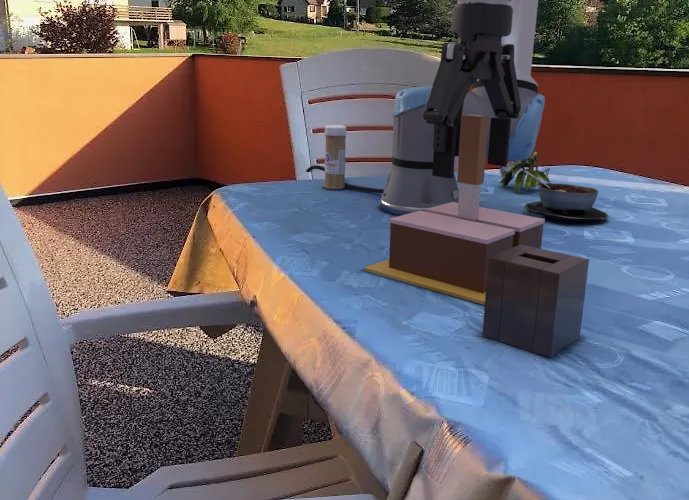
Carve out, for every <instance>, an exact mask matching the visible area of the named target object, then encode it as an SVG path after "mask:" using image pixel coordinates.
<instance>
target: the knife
mask: <svg viewBox="0 0 689 500" xmlns="http://www.w3.org/2000/svg"><path fill="white" fill-rule="evenodd" d="M488 118H489V116H485V115H474V114H466V115H461V129H460V145H459V157H458V161H457V177H456V178H457V179H456V182H457V183H459V187H458V189H459V201H458V216H457V218H459V219H464V220H469V221H474V222H478V217H479V207H480V202H481V187H482V184H484V181H485V171H486V170H485V169H486V158H485V157H486V144H487V131H488Z"/></svg>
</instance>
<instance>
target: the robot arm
mask: <svg viewBox="0 0 689 500" xmlns="http://www.w3.org/2000/svg"><path fill="white" fill-rule="evenodd" d="M455 1H456V2H457V4H456V5H455V4H454V7H452V16H451V29H450V30H451V34H452V35H453V36H457V37H458V41H457V42H444V43H442V47H441V54H440V62H439V63H438V64H439V65H438V68H437V71H436V73H435V76H434V80H433V83H432V85H424V86H416V87H407V88H402V89H401V90H399V91H398V92H397V93H396V94H395V97H394V106H393V107H394V108H393V113H392V118H393V119H392V120H393V121H392V123H393V124H392V149H391V151H392V152H391V169H390V171H389V175H388V178H387V180H386V183H385V185H384V188H376V187H367V186H361V185H355V184H349V183H347V182H344V185H345V188H344V189H349V190H353V191H359V192H367V193H374V194H381V197H380V209H382V210H383V211H384V212H386V213H389V214H392V215H398V216H401V215H405V214H409V213H413V212H416V211H425V212H426V209H428V208H431V207H435V206H439V205H443V204H446V203H450V202H456V203H458V201H459V187H458V182H457V179H456V178H457V177H456V174H455V160H456V159H455V158H456V157H457V158H459V145H460V129H461V115H466V114H474V115H485V116H489V118H488V131H487V144H486V157H485V159H487V162H486V163H487V165H492V166H497V167H504V166H507V164H508V161H510V160H524V159H527V158H528V157H530V155H531V156H532V155H533V153H534V151H535V149H534V147H535V145H536V143H537V139H538V137H539V131H540V128H541V123H542V118H543V113H544V108H545V103H546V97H545V95H543V94H541V93H538V91H539V84H538V83H537V81H536V80H535V79H534V78H533V77H532V74H531V73H532V65H533V55H534V46H535V45H534V44H535V37H536V36H535V35H536V25H537V17H538V16H537V15H538V5H539V0H455ZM470 89H471V91H470ZM535 148H536V147H535ZM533 150H534V151H533ZM532 152H533V153H532ZM313 170H319V171H322V172H325V166H322V165H319V164H318V165H311V166H308V168H306V170H305V172H307V173H310V172H311V171H313Z"/></svg>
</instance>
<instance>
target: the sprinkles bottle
mask: <svg viewBox="0 0 689 500" xmlns="http://www.w3.org/2000/svg"><path fill="white" fill-rule="evenodd" d="M324 134H325V155H324V167H325V171H324V185H323V186H324V188H325V189H327V190H333V191H338V190H343V189H346V188H345V185H344V183H346V182H345V180H346V179H345V176H346V138H347V126H346V125H341V124H329V125H325V126H324Z"/></svg>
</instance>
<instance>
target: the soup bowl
mask: <svg viewBox="0 0 689 500" xmlns="http://www.w3.org/2000/svg"><path fill="white" fill-rule="evenodd" d="M524 172H525V173H527V174H529V175H531V176H532V177H533V178H535V179H536V180H537V181H538V182H539V184H540V185H539V186H538V188H539V189H538V190H539V191H538V192H539V198H540V200H539V201H532V202H527V203H526V204H524V208H525V210H526V211H527V212H528V213H530V214H531V213H535V214H537V215H539V216H542V217H544V218H548V219H554V220H558V221H560V220H561V221H568V222H593V221H600V220H606V219H607V218H609V214H608V213H607V212H606V211H603V210H601V209H598V208H597V207H593V206H594V204H595V202H596V200H597V198H598V196H599V195H598V194H599V189H595V188H593V187H588V186H581V185H575V184H568V183H553V182H550V183H549V182H546V183H544V181H543V180H542V179H540V180H539V179H538V178H536V177H535V176H534V175H532V174H531V173H529V172H528V171H524Z"/></svg>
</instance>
